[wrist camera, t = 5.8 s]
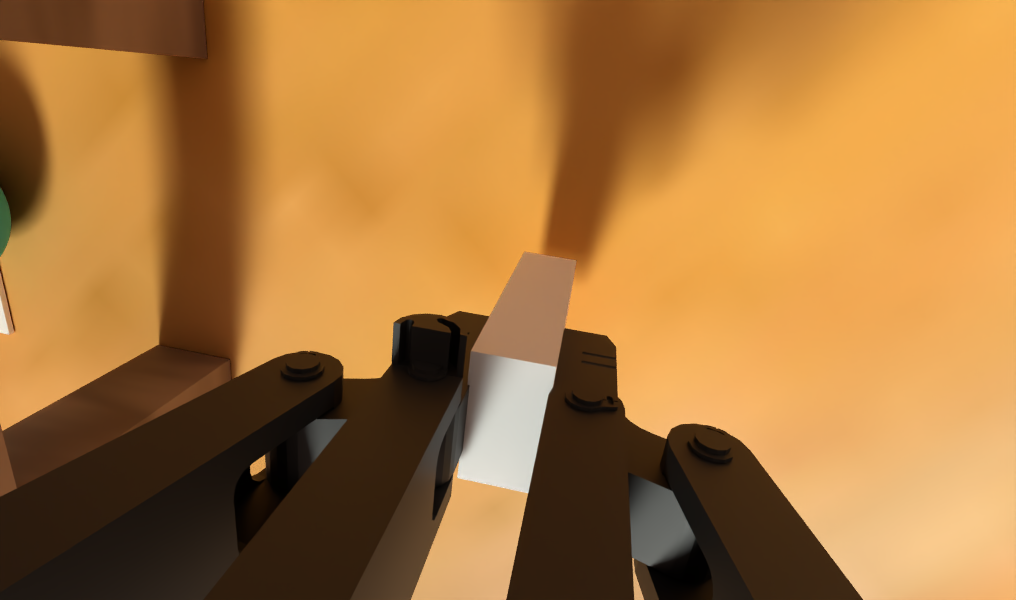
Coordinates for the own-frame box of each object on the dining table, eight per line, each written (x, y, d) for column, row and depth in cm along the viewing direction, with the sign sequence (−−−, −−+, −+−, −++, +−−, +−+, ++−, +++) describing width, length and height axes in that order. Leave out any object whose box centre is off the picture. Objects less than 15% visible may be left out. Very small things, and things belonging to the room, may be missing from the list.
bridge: (163, 389, 22) (-119, 576, 13) (111, -25, 17) (-412, -152, 8) (233, 404, 22) (-12, 605, 13) (202, -15, 16) (-244, -136, 8)
